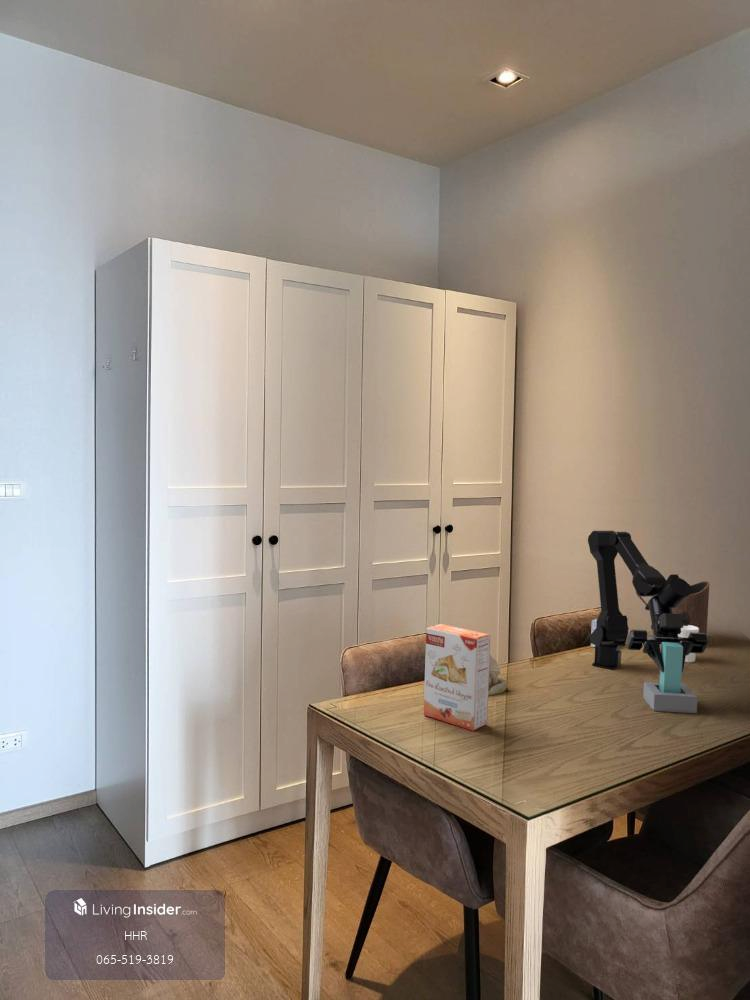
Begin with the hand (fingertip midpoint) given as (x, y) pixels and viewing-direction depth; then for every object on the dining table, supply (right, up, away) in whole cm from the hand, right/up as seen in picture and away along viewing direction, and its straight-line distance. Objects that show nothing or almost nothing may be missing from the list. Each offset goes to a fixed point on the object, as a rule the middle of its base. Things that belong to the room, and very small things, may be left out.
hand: (672, 671), depth 187 cm
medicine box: (0, -5, +60) cm, 60 cm away
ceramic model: (-46, -7, +11) cm, 48 cm away
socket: (0, -9, +2) cm, 9 cm away
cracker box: (-54, -8, -13) cm, 57 cm away
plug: (0, -6, +2) cm, 7 cm away
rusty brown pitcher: (+26, -5, +69) cm, 74 cm away
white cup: (+21, -7, +45) cm, 50 cm away
